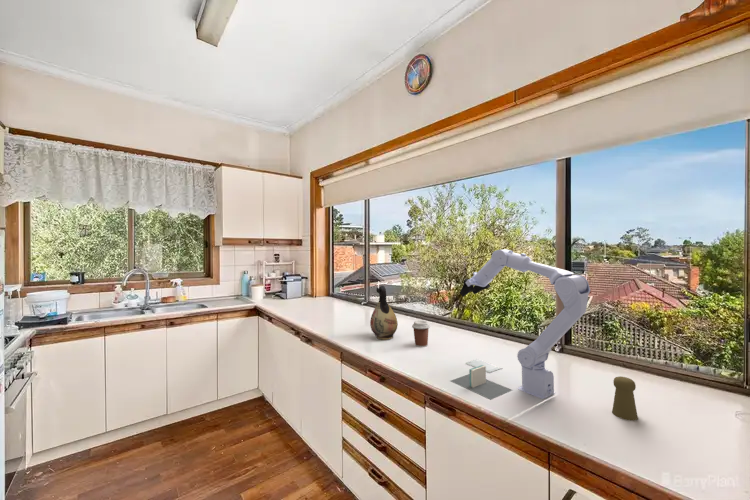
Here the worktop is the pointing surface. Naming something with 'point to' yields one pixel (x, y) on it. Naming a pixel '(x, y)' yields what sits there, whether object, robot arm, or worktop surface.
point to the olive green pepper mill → (624, 399)
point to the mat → (482, 387)
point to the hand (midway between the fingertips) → (467, 293)
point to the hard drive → (489, 367)
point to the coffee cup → (421, 333)
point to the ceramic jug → (383, 318)
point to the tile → (477, 376)
